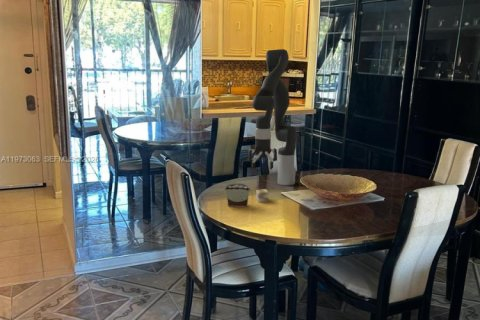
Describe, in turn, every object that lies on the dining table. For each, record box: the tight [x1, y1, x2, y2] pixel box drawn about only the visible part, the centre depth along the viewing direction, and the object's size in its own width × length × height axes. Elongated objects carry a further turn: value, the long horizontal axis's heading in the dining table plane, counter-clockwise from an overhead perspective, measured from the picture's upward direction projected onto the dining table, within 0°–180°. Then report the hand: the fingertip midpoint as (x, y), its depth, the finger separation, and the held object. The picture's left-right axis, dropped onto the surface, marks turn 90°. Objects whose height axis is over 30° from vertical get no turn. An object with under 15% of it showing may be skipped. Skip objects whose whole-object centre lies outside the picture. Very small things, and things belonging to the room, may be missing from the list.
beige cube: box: [255, 188, 269, 203], centre depth 223 cm, size 5×5×5 cm
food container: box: [224, 182, 251, 208], centre depth 217 cm, size 12×6×10 cm, turn 84°
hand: (262, 169), depth 220 cm, fingers open, 8 cm apart
